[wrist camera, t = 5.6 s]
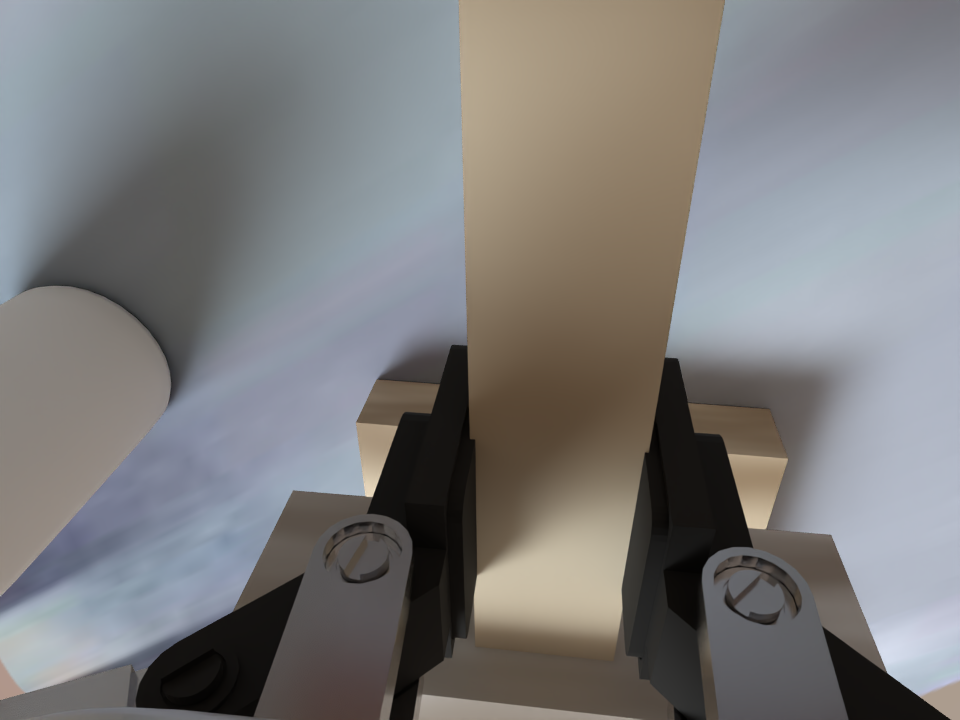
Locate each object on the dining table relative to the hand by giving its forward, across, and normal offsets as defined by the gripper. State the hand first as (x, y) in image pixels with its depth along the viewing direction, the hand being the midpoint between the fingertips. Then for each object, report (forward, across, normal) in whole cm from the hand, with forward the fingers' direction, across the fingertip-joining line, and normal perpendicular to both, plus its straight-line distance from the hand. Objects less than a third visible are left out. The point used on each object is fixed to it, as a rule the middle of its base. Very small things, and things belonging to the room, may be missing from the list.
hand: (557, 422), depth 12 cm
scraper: (+1, 0, -2) cm, 2 cm away
